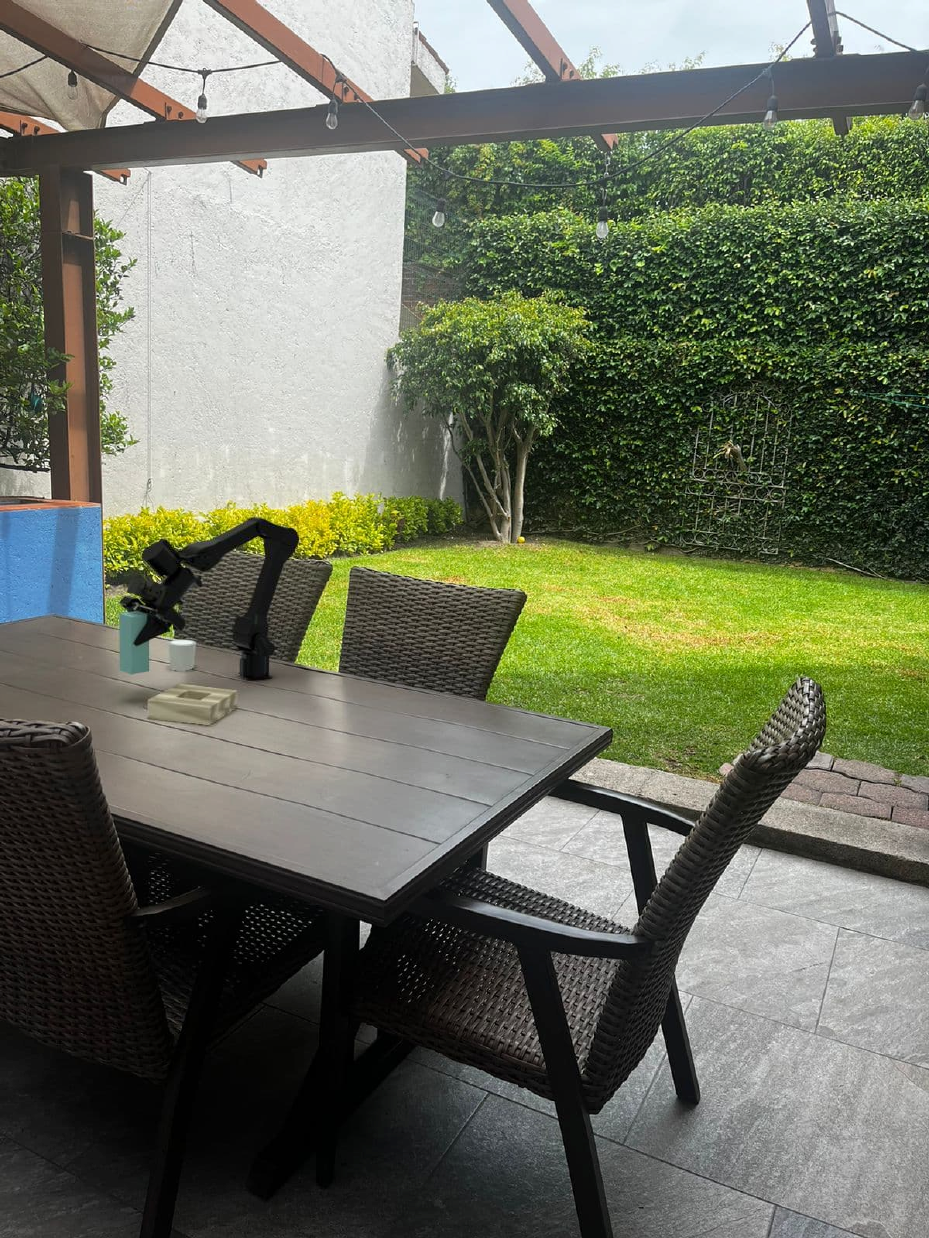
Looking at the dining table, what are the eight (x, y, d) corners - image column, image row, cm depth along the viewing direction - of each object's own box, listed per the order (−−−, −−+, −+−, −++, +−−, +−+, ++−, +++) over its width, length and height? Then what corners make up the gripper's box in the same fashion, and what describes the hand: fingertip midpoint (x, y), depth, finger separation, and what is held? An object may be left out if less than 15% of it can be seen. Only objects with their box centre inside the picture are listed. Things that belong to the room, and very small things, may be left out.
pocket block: (179, 700, 208) (179, 683, 208) (237, 707, 206) (237, 690, 205) (147, 718, 195) (147, 700, 194) (209, 725, 192) (209, 707, 192)
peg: (137, 667, 208) (137, 611, 206) (149, 671, 205) (149, 614, 203) (119, 670, 205) (119, 613, 202) (131, 674, 202) (130, 616, 199)
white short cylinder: (191, 672, 232) (191, 646, 231) (164, 670, 232) (164, 644, 231) (199, 666, 239) (199, 640, 237) (173, 664, 239) (173, 638, 237)
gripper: (126, 560, 209) (81, 613, 203) (174, 572, 198) (128, 628, 192) (157, 591, 217) (114, 643, 210) (205, 604, 206) (161, 659, 199)
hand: (128, 642), depth 203 cm, fingers closed on peg, 4 cm apart
